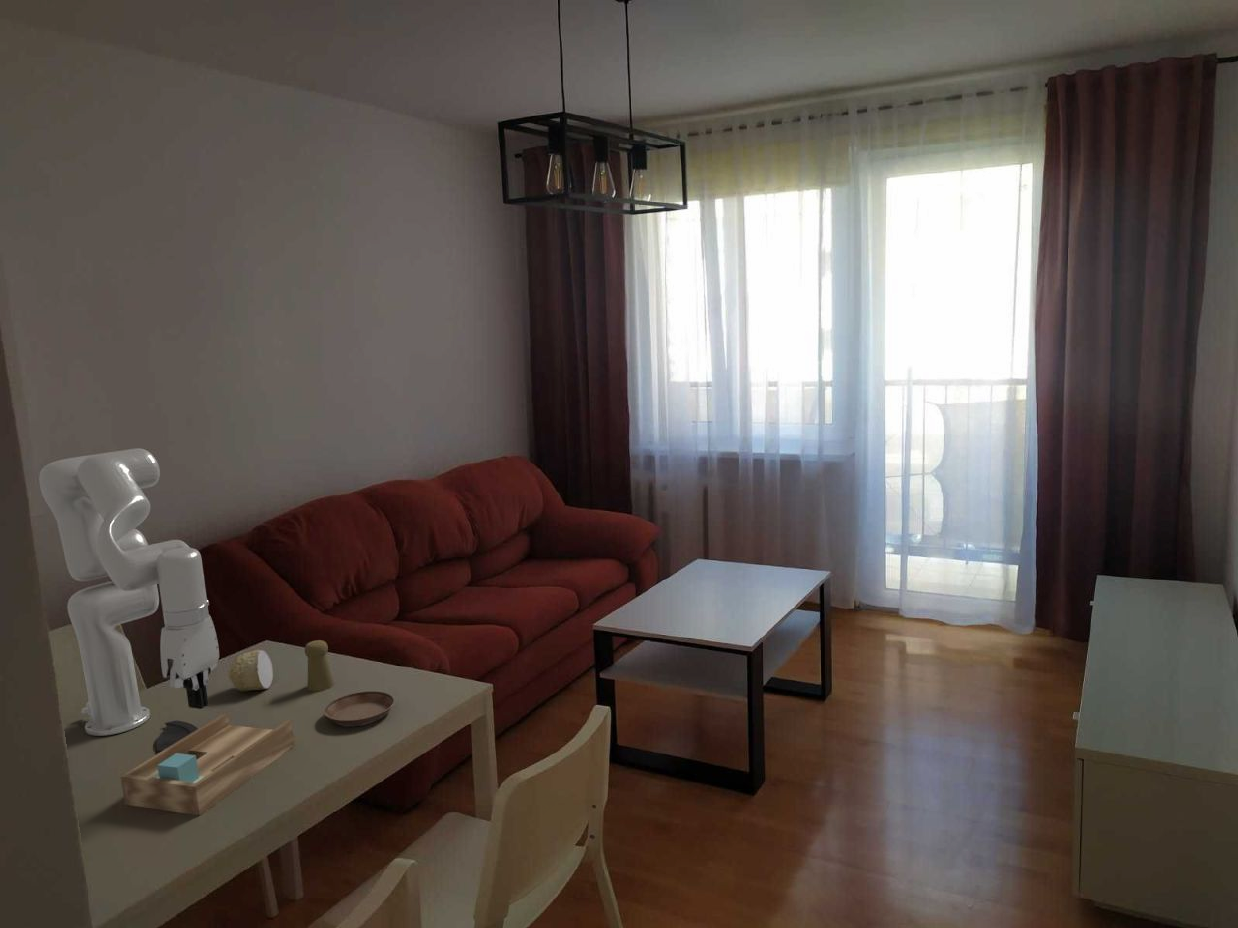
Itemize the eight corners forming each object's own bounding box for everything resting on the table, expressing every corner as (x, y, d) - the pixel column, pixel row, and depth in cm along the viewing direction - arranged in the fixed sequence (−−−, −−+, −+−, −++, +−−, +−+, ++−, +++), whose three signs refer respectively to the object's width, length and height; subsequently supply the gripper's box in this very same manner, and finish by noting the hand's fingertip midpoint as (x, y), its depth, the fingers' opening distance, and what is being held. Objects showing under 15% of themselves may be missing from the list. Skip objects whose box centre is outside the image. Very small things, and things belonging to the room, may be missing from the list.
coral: (271, 667, 207) (229, 653, 206) (260, 704, 209) (218, 691, 209) (286, 649, 216) (246, 635, 215) (275, 684, 218) (236, 671, 218)
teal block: (161, 787, 163) (157, 764, 162) (179, 775, 167) (176, 752, 166) (180, 790, 161) (177, 767, 160) (199, 777, 165) (195, 755, 165)
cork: (307, 683, 214) (302, 639, 212) (334, 679, 216) (328, 635, 214) (307, 693, 208) (301, 648, 206) (334, 688, 210) (328, 644, 208)
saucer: (383, 695, 205) (381, 684, 204) (405, 718, 193) (403, 706, 192) (317, 714, 197) (315, 702, 197) (335, 739, 185) (334, 726, 184)
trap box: (125, 804, 164) (120, 776, 163) (227, 737, 188) (223, 713, 187) (199, 815, 158) (195, 786, 157) (294, 745, 182) (291, 720, 182)
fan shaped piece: (198, 721, 198) (197, 714, 198) (201, 745, 186) (200, 738, 186) (156, 730, 194) (155, 723, 194) (156, 756, 182) (155, 749, 182)
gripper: (199, 599, 175) (211, 687, 178) (138, 627, 161) (151, 722, 164) (231, 602, 172) (242, 691, 176) (171, 631, 158) (184, 727, 162)
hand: (198, 706), depth 170 cm, fingers closed
